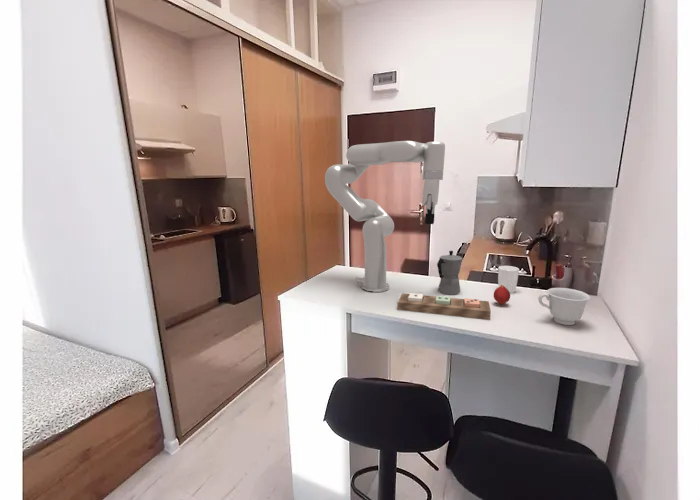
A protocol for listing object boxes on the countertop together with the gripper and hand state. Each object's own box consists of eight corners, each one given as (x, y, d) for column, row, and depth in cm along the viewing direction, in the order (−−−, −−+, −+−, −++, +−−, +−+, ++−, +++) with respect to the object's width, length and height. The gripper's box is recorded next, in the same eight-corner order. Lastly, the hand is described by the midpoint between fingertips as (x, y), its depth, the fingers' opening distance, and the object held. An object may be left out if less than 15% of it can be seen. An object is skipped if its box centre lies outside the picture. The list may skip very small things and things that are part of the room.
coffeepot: (448, 285, 149) (450, 246, 146) (467, 290, 142) (470, 250, 138) (427, 293, 140) (428, 252, 136) (446, 299, 133) (448, 255, 129)
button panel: (397, 309, 123) (397, 302, 123) (402, 300, 133) (402, 293, 132) (490, 319, 113) (490, 311, 113) (488, 308, 122) (488, 301, 122)
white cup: (492, 289, 144) (494, 267, 142) (505, 286, 147) (507, 264, 145) (507, 294, 137) (509, 271, 135) (521, 292, 140) (523, 269, 138)
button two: (435, 308, 121) (435, 299, 120) (436, 303, 126) (436, 295, 125) (449, 309, 120) (449, 300, 119) (450, 304, 124) (450, 296, 123)
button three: (464, 311, 118) (464, 302, 117) (464, 306, 123) (464, 297, 122) (479, 312, 116) (479, 303, 116) (478, 307, 121) (479, 298, 120)
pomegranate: (496, 300, 130) (498, 281, 129) (511, 304, 126) (513, 284, 125) (490, 304, 127) (491, 284, 125) (505, 308, 122) (507, 288, 121)
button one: (407, 305, 124) (408, 296, 124) (409, 300, 129) (410, 292, 128) (421, 306, 123) (421, 298, 122) (422, 302, 127) (423, 293, 127)
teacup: (528, 313, 118) (531, 287, 116) (573, 314, 116) (577, 287, 114) (544, 328, 106) (548, 299, 104) (594, 330, 104) (599, 300, 102)
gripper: (425, 175, 134) (422, 220, 138) (419, 175, 120) (416, 225, 124) (444, 176, 131) (441, 221, 135) (440, 176, 118) (437, 227, 122)
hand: (429, 223), depth 130 cm, fingers closed
